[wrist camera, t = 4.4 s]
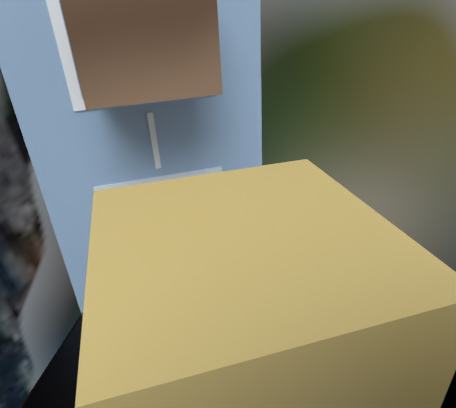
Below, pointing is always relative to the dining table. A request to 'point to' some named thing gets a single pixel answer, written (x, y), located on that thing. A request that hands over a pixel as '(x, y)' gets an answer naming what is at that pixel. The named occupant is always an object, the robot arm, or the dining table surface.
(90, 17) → the walnut cube
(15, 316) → the dining table surface
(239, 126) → the blueprint sheet
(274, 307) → the ochre block
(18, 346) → the dining table surface
